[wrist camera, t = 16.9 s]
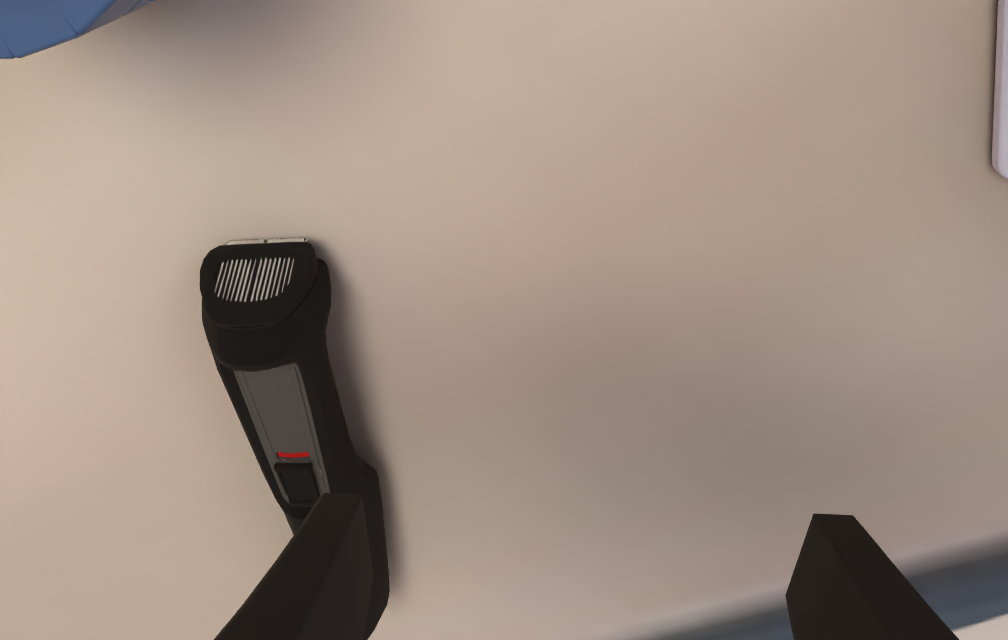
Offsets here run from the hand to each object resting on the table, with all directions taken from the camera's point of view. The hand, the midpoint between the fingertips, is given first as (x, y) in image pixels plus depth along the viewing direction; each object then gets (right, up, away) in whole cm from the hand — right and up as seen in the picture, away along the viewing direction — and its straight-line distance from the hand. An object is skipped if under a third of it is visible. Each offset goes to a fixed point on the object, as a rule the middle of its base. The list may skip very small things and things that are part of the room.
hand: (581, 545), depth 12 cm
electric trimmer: (-7, 0, +13) cm, 15 cm away
